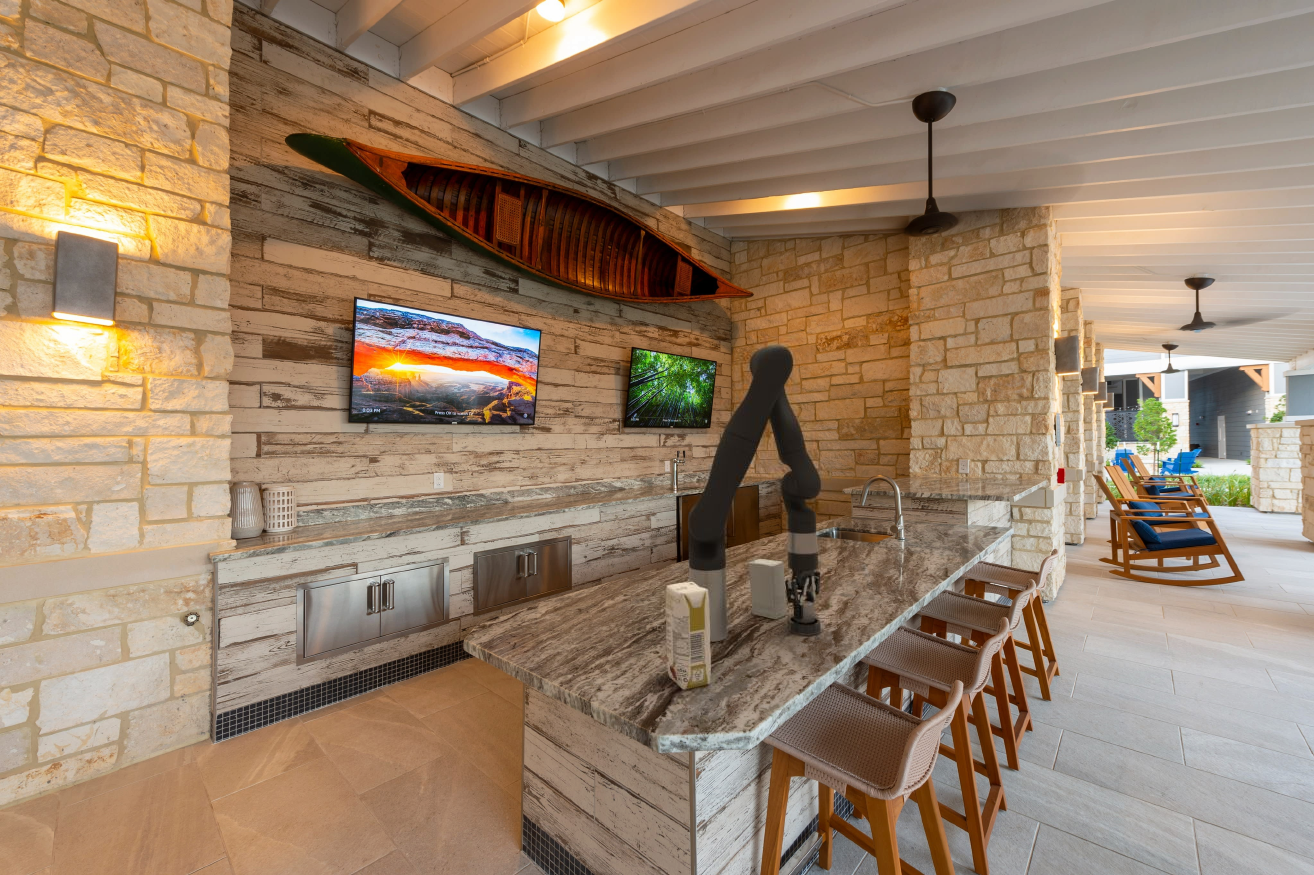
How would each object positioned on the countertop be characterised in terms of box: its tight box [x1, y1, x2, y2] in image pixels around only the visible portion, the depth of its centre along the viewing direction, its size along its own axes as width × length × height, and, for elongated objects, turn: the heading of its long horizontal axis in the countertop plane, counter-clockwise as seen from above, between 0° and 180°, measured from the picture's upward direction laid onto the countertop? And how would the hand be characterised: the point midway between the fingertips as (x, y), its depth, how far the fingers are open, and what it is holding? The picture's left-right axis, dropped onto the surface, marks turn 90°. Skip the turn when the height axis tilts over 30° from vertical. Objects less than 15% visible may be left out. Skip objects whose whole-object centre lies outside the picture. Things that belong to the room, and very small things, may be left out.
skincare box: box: [748, 558, 788, 620], centre depth 146 cm, size 8×6×15 cm
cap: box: [794, 599, 816, 623], centre depth 133 cm, size 6×5×4 cm
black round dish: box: [787, 615, 821, 637], centre depth 133 cm, size 8×8×3 cm
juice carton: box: [665, 581, 712, 690], centre depth 107 cm, size 8×9×19 cm
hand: (804, 615), depth 133 cm, fingers closed on cap, 5 cm apart
